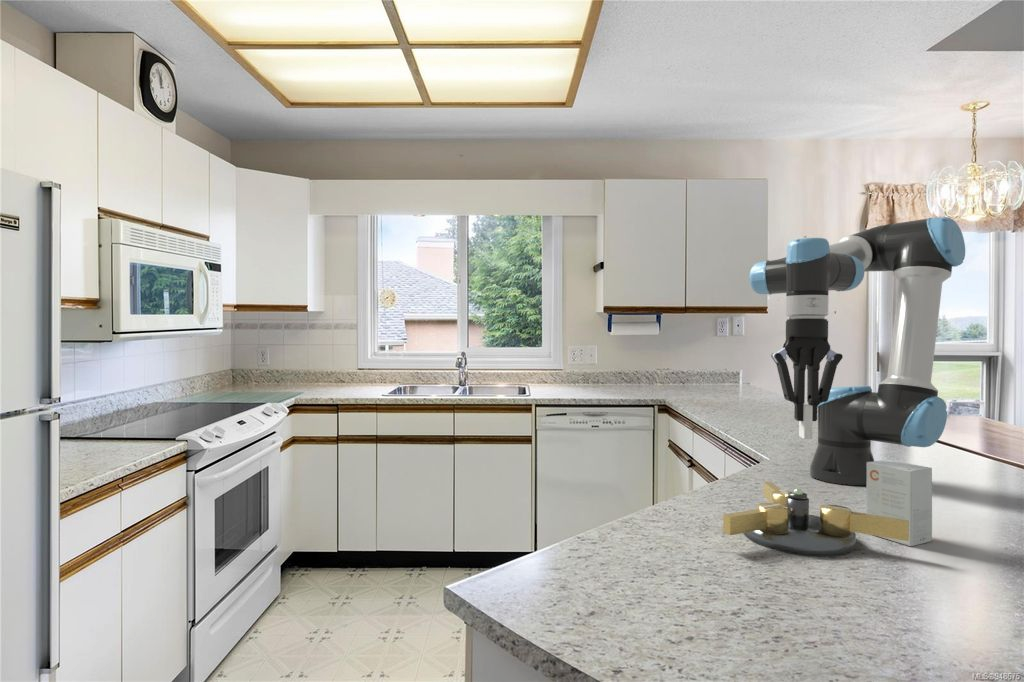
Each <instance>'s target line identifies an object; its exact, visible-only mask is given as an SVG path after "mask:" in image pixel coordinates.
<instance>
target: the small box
mask: <svg viewBox="0 0 1024 682" xmlns="http://www.w3.org/2000/svg"><path fill="white" fill-rule="evenodd" d="M865 487H866V490H865V491H866V502H865V505H866V506H865V507H866V508H865V510H866V511H865V514H872V515H878V516H885V517H891V518H898V519H905V520H909V540H908V541H904V540H898V539H892V538H886V537H880V536H877V537H879V538H882V539H885V540H889V541H891V542H895V543H899V544H902V545H905V546H908V547H914V546H919V545H923V544H925V543H929V542H932V540H933V468H932V467H928V466H924V465H918V464H914V463H913V464H912V463H908V462H901V461H897V460H892V459H891V460H890V459H883V460H874V461H873V462H867V484H866V485H865Z"/></svg>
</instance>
